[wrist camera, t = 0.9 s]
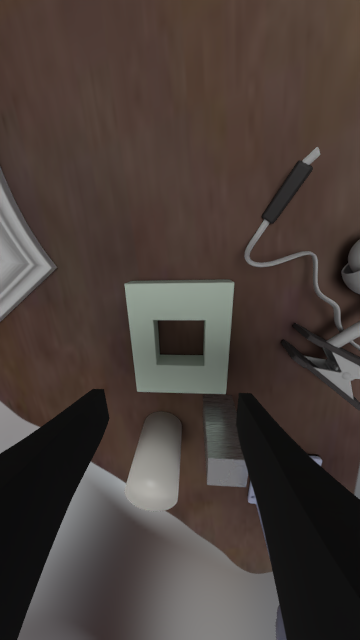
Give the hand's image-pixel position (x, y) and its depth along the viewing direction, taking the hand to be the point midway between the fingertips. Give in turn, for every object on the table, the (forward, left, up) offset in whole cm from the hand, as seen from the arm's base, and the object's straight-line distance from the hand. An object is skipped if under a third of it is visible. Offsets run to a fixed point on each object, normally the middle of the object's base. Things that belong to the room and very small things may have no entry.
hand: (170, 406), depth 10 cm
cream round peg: (-12, +2, -9) cm, 16 cm away
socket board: (0, 0, -9) cm, 9 cm away
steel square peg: (-9, -4, -9) cm, 14 cm away
